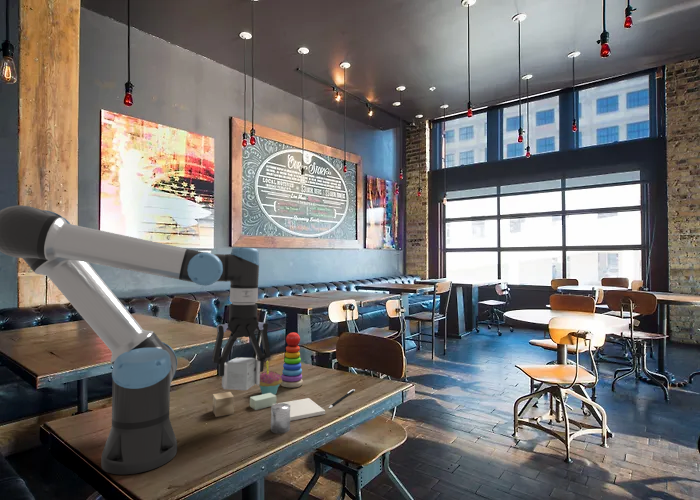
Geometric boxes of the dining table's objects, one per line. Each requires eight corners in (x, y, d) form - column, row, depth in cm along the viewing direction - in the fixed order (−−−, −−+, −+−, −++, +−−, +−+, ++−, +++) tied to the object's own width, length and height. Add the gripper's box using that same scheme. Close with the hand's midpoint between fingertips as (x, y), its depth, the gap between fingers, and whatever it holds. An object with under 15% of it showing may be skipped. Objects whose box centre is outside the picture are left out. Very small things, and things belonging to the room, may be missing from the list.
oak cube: (215, 417, 115) (216, 399, 115) (212, 411, 119) (213, 394, 119) (233, 414, 117) (233, 396, 117) (229, 408, 122) (230, 391, 122)
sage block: (255, 410, 120) (255, 400, 120) (249, 407, 123) (249, 397, 123) (276, 405, 125) (276, 396, 125) (270, 402, 128) (270, 392, 128)
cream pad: (286, 421, 112) (286, 418, 112) (272, 407, 122) (272, 404, 122) (325, 414, 118) (325, 410, 118) (308, 401, 128) (308, 398, 128)
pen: (355, 391, 139) (355, 388, 139) (330, 409, 122) (330, 406, 122) (353, 391, 139) (353, 387, 139) (327, 409, 122) (327, 405, 122)
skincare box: (246, 391, 107) (247, 363, 108) (225, 389, 108) (226, 361, 109) (255, 384, 113) (256, 358, 114) (235, 382, 114) (236, 356, 115)
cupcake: (275, 398, 130) (276, 361, 130) (251, 396, 132) (252, 359, 132) (285, 390, 138) (286, 355, 139) (262, 388, 140) (262, 353, 140)
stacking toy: (301, 388, 140) (302, 334, 141) (278, 388, 140) (279, 334, 141) (304, 381, 148) (304, 330, 149) (282, 381, 148) (283, 330, 149)
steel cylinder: (274, 434, 103) (274, 411, 104) (268, 427, 108) (268, 405, 108) (292, 431, 106) (293, 408, 106) (286, 424, 110) (286, 402, 110)
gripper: (206, 305, 103) (203, 395, 103) (284, 303, 113) (281, 384, 113) (201, 302, 110) (198, 386, 109) (275, 301, 120) (273, 377, 119)
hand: (240, 385), depth 111 cm, fingers closed on skincare box, 8 cm apart
